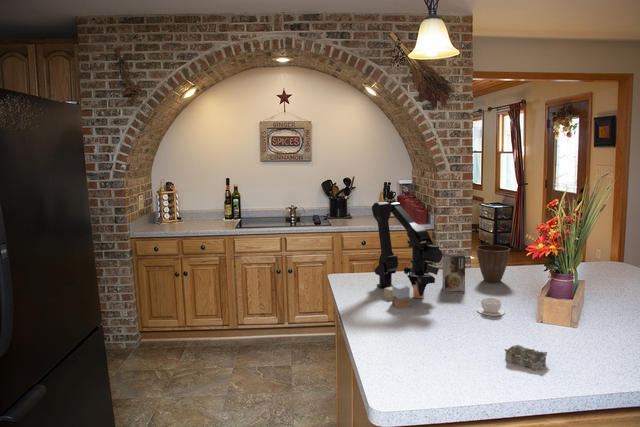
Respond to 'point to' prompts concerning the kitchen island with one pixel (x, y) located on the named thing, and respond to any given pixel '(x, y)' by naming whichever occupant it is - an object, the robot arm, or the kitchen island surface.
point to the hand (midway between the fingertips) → (418, 294)
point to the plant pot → (492, 261)
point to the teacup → (490, 307)
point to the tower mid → (401, 291)
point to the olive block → (388, 292)
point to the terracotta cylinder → (416, 292)
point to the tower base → (401, 302)
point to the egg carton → (532, 356)
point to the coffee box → (453, 272)
